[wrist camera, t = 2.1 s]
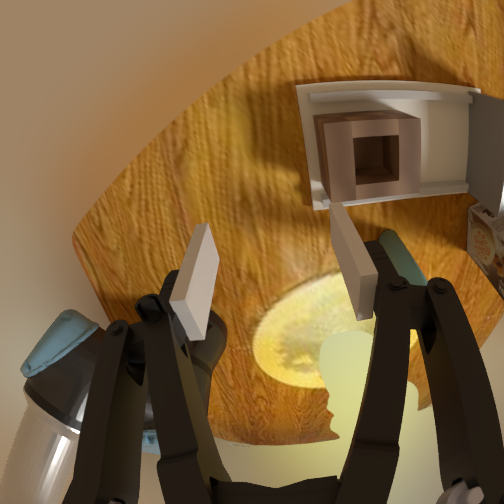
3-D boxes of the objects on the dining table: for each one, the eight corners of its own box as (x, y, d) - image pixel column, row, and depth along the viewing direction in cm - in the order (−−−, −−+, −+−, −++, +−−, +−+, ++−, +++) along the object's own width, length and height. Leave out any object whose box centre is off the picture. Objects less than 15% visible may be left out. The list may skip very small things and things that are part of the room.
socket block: (321, 183, 32) (331, 203, 27) (312, 115, 27) (323, 123, 23) (399, 174, 30) (419, 192, 26) (397, 110, 26) (420, 118, 21)
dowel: (377, 249, 38) (420, 336, 25) (378, 231, 36) (427, 318, 23) (396, 246, 38) (443, 330, 25) (398, 228, 36) (451, 311, 23)
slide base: (312, 207, 35) (326, 248, 27) (294, 85, 26) (308, 88, 19) (472, 188, 31) (508, 219, 24) (476, 88, 23) (521, 101, 16)
